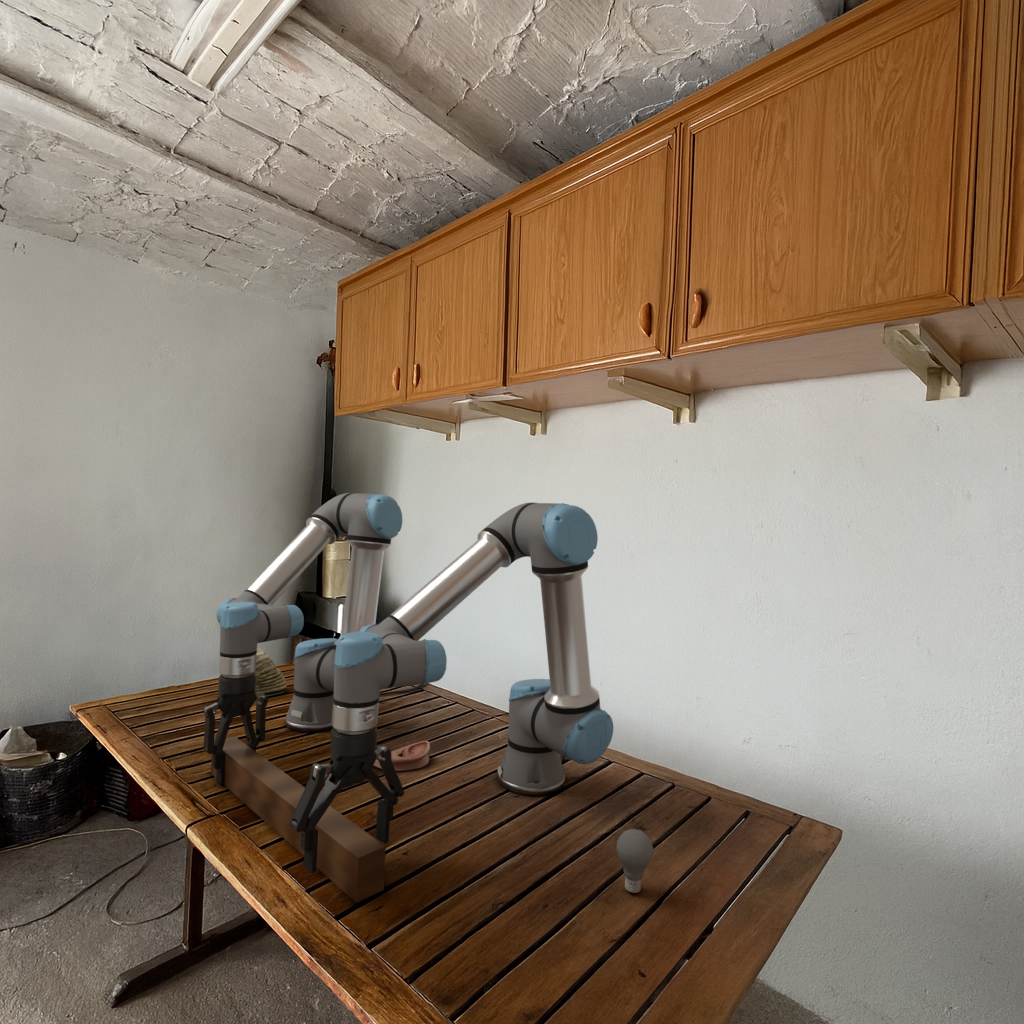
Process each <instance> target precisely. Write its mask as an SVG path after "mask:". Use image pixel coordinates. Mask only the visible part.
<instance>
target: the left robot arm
mask: <svg viewBox="0 0 1024 1024" xmlns="http://www.w3.org/2000/svg"><path fill="white" fill-rule="evenodd" d="M402 526H403V513H402V509H401V506H400V505H399V504H398V502H397V501H396V499H395V498H393V497H392V496H390V495H387V494H386V495H385V494H380V493H359V492H357V493H356V492H346V493H345V492H344V493H341V494H339V495H336V496H334V497H332V498H331V499H329V500H327V501H326V502H325V503H324V504H322V505H321V506H319V507H318V508H317V509H316V510H315V511H314V512H313V513H312V514H311V515H310V516H309V517H308V518H307V519H306V521H305V526H304V528H302V530H301V531H300V532H299V533H298V534H297V535H296V536H295V537H294V538H293V539H292V541H290V542H289V543H288V545H286V547H285V548H283V550H282V551H280V553H279V554H278V555H277V556H276V557H275V558H274V559H273V560H272V561H271V563H269V565H267V567H266V568H265V569H264V570H263V571H262V572H260V574H259V575H258V576H257V577H256V578H255V579H254V580H253V581H252V582H251V583H250V584H249V585H248V587H246V588H245V589H244V591H243V592H242V593H241V594H240V595H238V597H233V598H226V599H225V600H223V601H221V603H220V604H219V605H218V607H217V610H216V621H217V623H218V624H219V627H220V628H219V629H220V630H219V660H218V661H219V662H218V673H219V674H220V675H219V676H218V686H217V687H218V689H217V690H218V691H217V694H218V695H217V699H216V700H215V702H214V703H213V704H210V705H204V706H203V707H202V711H203V714H204V732H203V733H204V734H203V751H204V752H206V753H207V754H208V755H212V754H213V763H212V765H213V767H214V768H215V769H217V770H216V778H215V781H216V782H217V783H218V784H219V785H223V784H224V783H225V755H226V754H225V753H224V752H222V750H223V747H224V743H225V740H226V738H227V736H228V733H229V730H230V726H231V723H233V719H234V718H236V717H241V720H242V724H243V729H244V732H245V737H246V741H247V743H245V744H246V745H247V746H249V747H250V748H251V749H253V750H254V751H255V752H257V747H259V745H260V742H264V741H265V740H266V715H267V712H266V709H267V706H268V703H269V697H268V696H264V695H260V696H258V695H256V693H255V687H256V674H255V673H254V672H255V671H256V657H257V648H258V644H261V643H265V642H272V641H278V640H282V639H285V640H287V639H288V638H291V637H294V636H296V635H297V636H298V635H299V634H300V632H302V631H303V628H304V624H305V623H304V622H305V621H304V619H305V618H304V613H303V611H302V610H301V609H300V608H299V607H298V606H297V605H295V604H283V605H278V606H277V605H274V604H275V603H276V602H277V601H278V600H279V599H280V597H282V595H283V594H284V593H285V592H286V591H287V590H288V589H289V588H290V587H291V586H292V584H294V582H295V581H296V580H297V579H298V578H299V576H300V575H302V573H304V572H305V570H306V569H307V568H308V567H309V566H310V565H311V563H313V562H314V560H315V559H316V558H317V557H318V556H319V555H320V554H321V552H322V551H323V550H324V549H325V548H326V547H327V546H328V545H333V544H334V543H336V541H337V540H338V539H339V538H342V537H344V536H346V535H347V538H346V542H347V543H348V544H349V546H350V547H351V553H350V561H349V569H348V577H347V585H346V593H345V600H344V608H343V609H344V611H343V616H342V624H341V631H340V632H341V633H340V636H342V635H344V634H346V633H351V632H359V631H360V630H361V629H362V628H363V627H365V626H367V625H370V624H376V622H377V621H376V620H377V613H378V605H379V596H380V588H381V580H382V571H383V564H384V556H385V555H384V554H385V551H386V550H387V549H388V548H389V547H390V546H391V545H392V539H394V538H395V537H397V536H398V535H399V532H401V531H402ZM338 639H339V638H335V637H333V638H332V637H329V638H315V639H308V640H304V641H302V642H299V643H298V644H297V645H296V646H295V652H294V653H295V654H294V656H293V659H294V661H293V662H294V663H293V665H294V667H293V695H292V696H293V697H292V699H291V702H290V704H289V708H288V711H287V713H286V715H285V726H286V728H287V729H289V730H291V731H294V732H295V731H296V732H301V733H316V732H325V731H329V730H332V729H333V728H334V727H333V726H332V724H331V722H332V708H333V696H334V668H335V665H334V660H335V653H336V647H337V641H338ZM424 686H425V685H422V684H419V685H416V686H415V687H412V688H407V689H402V690H393V691H392V690H391V691H385V692H380V695H379V697H380V696H388V695H394V694H395V695H396V694H404V693H405V694H406V693H409V692H414V691H416V690H419V689H420V688H422V687H424ZM254 704H255V727H254V723H253V719H252V718H253V717H252V711H251V709H252V707H253V705H254ZM217 710H220V711H221V714H220V718H219V720H220V721H219V724H218V728H217V730H216V715H217V712H218V711H217ZM215 733H216V734H215Z"/></svg>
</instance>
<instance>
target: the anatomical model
mask: <svg viewBox="0 0 1024 1024" xmlns="http://www.w3.org/2000/svg"><path fill="white" fill-rule="evenodd" d="M430 751H431V743H430V742H429V741H428V740H423V741H417V742H415V743H412V744H408V745H405V746H403V747H399V748H398V749H394V750H391V759H392V763H393V765H394V768H395V770H396V772H400V771H401V772H402V771H411V770H415V769H421V768H423V767H425V766H427V765H428V764H429V761H430V757H429V755H428V754H429V753H430ZM372 767H375V768H378V769H380V770H382V768H381V766H380V764H379V761H378V760H377V759H376V761H375V763H374V765H373V766H372Z"/></svg>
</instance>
